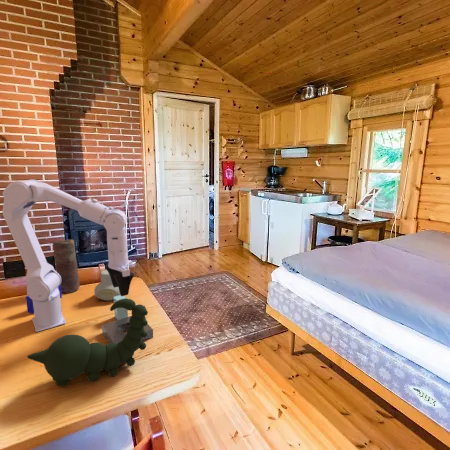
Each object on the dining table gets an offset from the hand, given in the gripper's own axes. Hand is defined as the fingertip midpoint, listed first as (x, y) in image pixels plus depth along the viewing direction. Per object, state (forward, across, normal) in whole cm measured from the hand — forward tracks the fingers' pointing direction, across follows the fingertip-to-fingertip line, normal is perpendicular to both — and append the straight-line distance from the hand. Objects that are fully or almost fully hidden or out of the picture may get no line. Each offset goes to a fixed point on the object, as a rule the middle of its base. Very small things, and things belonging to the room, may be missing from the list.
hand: (120, 290), depth 94 cm
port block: (+9, -10, +2) cm, 14 cm away
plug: (+9, 0, 0) cm, 9 cm away
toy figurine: (+10, -22, +13) cm, 28 cm away
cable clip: (+10, +25, +20) cm, 33 cm away
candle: (+10, +33, +10) cm, 36 cm away
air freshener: (+10, +18, -1) cm, 20 cm away
